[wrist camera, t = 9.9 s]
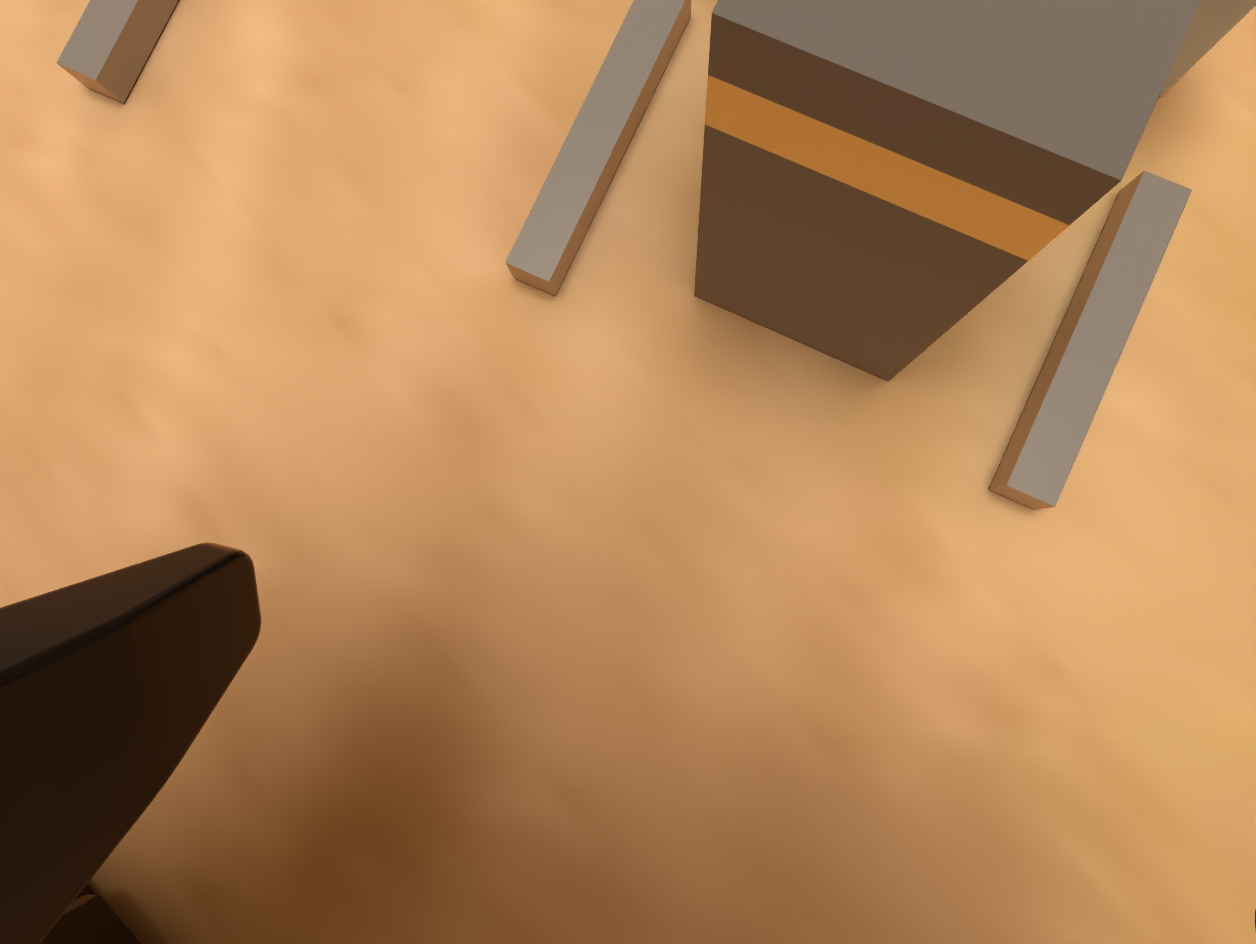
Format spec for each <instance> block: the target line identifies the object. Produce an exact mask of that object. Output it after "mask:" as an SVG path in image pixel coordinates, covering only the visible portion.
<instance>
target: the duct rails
mask: <svg viewBox="0 0 1256 944" xmlns="http://www.w3.org/2000/svg"><path fill="white" fill-rule="evenodd" d="M177 2H178V0H90V2H89V4H88V5H87V7H86V9H85V11H84V13H83V15H82V17H81V18H80V20H79V22H78V24H77V26H76V28H75V30H74V31H73V33H72V35H71V37H70V39H69V41H68V43H67V44H66V46H65V48H64V50H63V52H62V54H61V56H60V58H59V59H58V61H57V64H59V65H60V66H61V67H62V68H63V69H65V70H66V71H67V72H68V73H70V74H71V75H72V76H73V77H75V78H76V79H77V80H78V81H80V82H81V83H82V84H83V85H85V86H86V87H87V88H90V89H92V90H94V91H96V92H99V93H101V94H103V95H105V96H108V97H110V98H112V99H114V100H117V101H119V102H121V103H123V104H124V102H125V100H126V98H127V97H128V95H129V93H130V91H131V89H132V87H133V85H134V83H135V81H136V80H137V78H138V76H139V74H140V72H141V70H142V68H143V66H144V64H145V63H146V61H147V59H148V57H149V55H150V53H151V51H152V49H153V47H154V46H155V44H156V42H157V40H158V38H159V36H160V34H161V32H162V30H163V28H164V27H165V25H166V23H167V21H168V19H169V17H170V15H171V13H172V11H173V10H174V8H175V6H176V4H177ZM1255 6H1256V0H1201V2H1200V4H1199V6H1198V8H1197V11H1196V13H1195V15H1194V17H1193V20H1192V22H1191V24H1190V26H1189V29H1188V31H1187V33H1186V36H1185V38H1184V40H1183V42H1182V45H1181V47H1180V49H1179V51H1178V54H1177V56H1176V58H1175V60H1174V63H1173V65H1172V67H1171V69H1170V72H1169V74H1168V76H1167V78H1166V81H1165V83H1164V85H1163V88H1162V90H1161V92H1160V94H1159V96H1162V95H1163V94H1164V93H1165V92H1166V91H1167V90H1168V89H1169V88H1171V87H1172V86H1173V85H1174V84H1175V83H1176V82H1177V81H1178V80H1179V79H1180V78H1181V77H1182V76H1183V75H1184V74H1185V73H1186V72H1187V71H1188V70H1189V69H1190V68H1191V67H1192V66H1193V65H1194V64H1195V63H1196V62H1197V61H1199V60H1200V59H1201V58H1202V57H1203V56H1204V55H1205V54H1206V53H1207V52H1208V51H1209V50H1210V49H1211V48H1212V47H1213V46H1214V45H1215V44H1216V43H1217V42H1218V41H1219V40H1220V39H1221V38H1222V37H1223V36H1224V35H1225V34H1227V33H1228V32H1229V31H1230V30H1231V29H1232V28H1233V27H1234V26H1235V25H1236V24H1237V23H1238V22H1239V21H1240V20H1241V19H1242V18H1243V17H1244V16H1245V15H1246V14H1247V13H1248V12H1249V11H1250V10H1251V9H1252V8H1253V7H1255ZM690 17H691V0H634V1H633V3H632V5H631V7H630V9H629V11H628V13H627V15H626V17H625V19H624V22H623V24H622V26H621V28H620V30H619V32H618V34H617V36H616V38H615V40H614V42H613V44H612V46H611V48H610V50H609V52H608V54H607V56H606V58H605V60H604V62H603V64H602V67H601V69H600V71H599V73H598V75H597V77H596V79H595V81H594V83H593V85H592V87H591V89H590V91H589V93H588V95H587V97H586V99H585V101H584V103H583V105H582V107H581V109H580V111H579V114H578V116H577V118H576V120H575V122H574V124H573V126H572V128H571V130H570V132H569V134H568V136H567V138H566V140H565V142H564V144H563V146H562V148H561V150H560V152H559V154H558V156H557V159H556V161H555V163H554V165H553V167H552V169H551V171H550V173H549V175H548V177H547V179H546V181H545V183H544V185H543V187H542V189H541V191H540V193H539V195H538V197H537V199H536V201H535V204H534V206H533V208H532V210H531V212H530V214H529V216H528V218H527V220H526V222H525V224H524V226H523V228H522V230H521V232H520V234H519V236H518V238H517V240H516V242H515V244H514V246H513V249H512V251H511V253H510V255H509V257H508V259H507V261H506V264H507V266H508V268H509V269H510V271H511V273H512V275H513V276H514V278H516V279H518V280H520V281H523V282H525V283H527V284H529V285H532V286H534V287H536V288H538V289H540V290H543V291H545V292H547V293H549V294H552V295H554V296H556V294H557V292H558V290H559V288H560V286H561V284H562V282H563V280H564V277H565V275H566V273H567V271H568V269H569V267H570V265H571V263H572V261H573V259H574V257H575V255H576V253H577V251H578V248H579V246H580V244H581V242H582V240H583V238H584V236H585V234H586V232H587V230H588V228H589V226H590V224H591V222H592V220H593V217H594V215H595V213H596V211H597V209H598V207H599V205H600V203H601V201H602V199H603V197H604V195H605V193H606V191H607V188H608V186H609V184H610V182H611V180H612V178H613V176H614V174H615V172H616V170H617V168H618V166H619V164H620V162H621V159H622V157H623V155H624V153H625V151H626V149H627V147H628V145H629V143H630V141H631V139H632V137H633V135H634V133H635V131H636V128H637V126H638V124H639V122H640V120H641V118H642V116H643V114H644V112H645V110H646V108H647V106H648V104H649V102H650V99H651V97H652V95H653V93H654V91H655V89H656V87H657V85H658V83H659V81H660V79H661V77H662V75H663V73H664V71H665V68H666V66H667V64H668V62H669V60H670V58H671V56H672V54H673V52H674V50H675V48H676V46H677V44H678V42H679V39H680V37H681V35H682V33H683V31H684V29H685V27H686V25H687V23H688V21H689V19H690ZM1191 191H1192V190H1191V189H1189V188H1186V187H1184V186H1181V185H1179V184H1176V183H1174V182H1171V181H1169V180H1166V179H1164V178H1161V177H1159V176H1156V175H1154V174H1151V173H1149V172H1146V171H1143V172H1142V173H1141V174H1140V175H1138V176H1137V177H1136V178H1135V179H1134V180H1132V181H1131V182H1130V183H1129V184H1128V185H1126V186H1125V187H1124V188H1123V189H1122V190H1120V192H1119V194H1118V196H1117V199H1116V201H1115V203H1114V205H1113V208H1112V210H1111V212H1110V215H1109V217H1108V219H1107V221H1106V224H1105V226H1104V228H1103V231H1102V233H1101V235H1100V237H1099V240H1098V242H1097V244H1096V246H1095V249H1094V251H1093V253H1092V256H1091V258H1090V260H1089V262H1088V265H1087V267H1086V269H1085V272H1084V274H1083V276H1082V278H1081V281H1080V283H1079V285H1078V288H1077V290H1076V292H1075V294H1074V297H1073V299H1072V301H1071V303H1070V306H1069V308H1068V310H1067V313H1066V315H1065V317H1064V319H1063V322H1062V324H1061V326H1060V329H1059V331H1058V333H1057V335H1056V338H1055V340H1054V342H1053V344H1052V347H1051V349H1050V351H1049V354H1048V356H1047V358H1046V360H1045V363H1044V365H1043V367H1042V370H1041V372H1040V374H1039V376H1038V379H1037V381H1036V383H1035V386H1034V388H1033V390H1032V392H1031V395H1030V397H1029V399H1028V401H1027V404H1026V406H1025V408H1024V411H1023V413H1022V415H1021V417H1020V420H1019V422H1018V424H1017V427H1016V429H1015V431H1014V433H1013V436H1012V438H1011V440H1010V443H1009V445H1008V447H1007V449H1006V452H1005V454H1004V456H1003V458H1002V461H1001V463H1000V465H999V468H998V470H997V472H996V474H995V477H994V479H993V481H992V484H991V486H990V488H989V490H991V491H994V492H996V493H998V494H1000V495H1003V496H1005V497H1007V498H1009V499H1011V500H1014V501H1016V502H1018V503H1020V504H1023V505H1025V506H1027V507H1029V508H1032V509H1034V510H1037V509H1044V508H1050V507H1055V506H1056V503H1057V501H1058V499H1059V496H1060V494H1061V492H1062V489H1063V487H1064V485H1065V482H1066V480H1067V478H1068V476H1069V473H1070V471H1071V469H1072V466H1073V464H1074V462H1075V459H1076V457H1077V455H1078V452H1079V450H1080V448H1081V445H1082V443H1083V441H1084V439H1085V436H1086V434H1087V432H1088V429H1089V427H1090V425H1091V422H1092V420H1093V418H1094V415H1095V413H1096V411H1097V408H1098V406H1099V404H1100V402H1101V399H1102V397H1103V395H1104V392H1105V390H1106V388H1107V385H1108V383H1109V381H1110V378H1111V376H1112V374H1113V371H1114V369H1115V367H1116V365H1117V362H1118V360H1119V358H1120V355H1121V353H1122V351H1123V348H1124V346H1125V344H1126V341H1127V339H1128V337H1129V334H1130V332H1131V330H1132V328H1133V325H1134V323H1135V321H1136V318H1137V316H1138V314H1139V311H1140V309H1141V307H1142V304H1143V302H1144V300H1145V297H1146V295H1147V293H1148V291H1149V288H1150V286H1151V284H1152V281H1153V279H1154V277H1155V274H1156V272H1157V270H1158V267H1159V265H1160V263H1161V260H1162V258H1163V256H1164V254H1165V251H1166V249H1167V247H1168V244H1169V242H1170V240H1171V237H1172V235H1173V233H1174V230H1175V228H1176V226H1177V224H1178V221H1179V219H1180V217H1181V214H1182V212H1183V210H1184V207H1185V205H1186V203H1187V200H1188V198H1189V196H1190V193H1191Z"/></svg>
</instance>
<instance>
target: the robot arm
mask: <svg viewBox="0 0 1256 944" xmlns="http://www.w3.org/2000/svg"><path fill="white" fill-rule="evenodd" d="M260 627H261V614H260V607H259V600H258V592H257V585H256V578H255V571H254V565H253V561H252V560H251V558H250V556H249V555H248V554H247V553H245V552H244V551H242V550H238V549H235V548H231V547H227V546H223V545H219V544H215V543H201V544H198V545H195V546H191V547H188V548H185V549H182V550H179V551H176V552H173V553H170V554H167V555H163V556H160V557H157V558H154V559H151V560H148V561H145V562H142V563H139V564H135V565H132V566H129V567H126V568H123V569H120V570H117V571H114V572H111V573H107V574H104V575H101V576H98V577H95V578H92V579H89V580H86V581H83V582H79V583H76V584H73V585H70V586H67V587H64V588H61V589H58V590H55V591H51V592H48V593H45V594H42V595H39V596H36V597H33V598H30V599H27V600H23V601H20V602H17V603H14V604H11V605H8V606H5V607H2V608H0V944H141V943H140V942H139V941H138V940H137V939H136V938H135V936H134V935H133V934H132V933H131V932H130V930H129V929H128V928H127V927H126V926H125V925H124V923H123V922H122V921H121V920H120V919H119V918H118V916H117V915H116V914H115V913H114V912H113V910H112V909H111V908H110V907H109V906H108V905H107V903H106V902H105V901H104V900H103V899H102V898H101V897H100V896H97V895H96V894H95V893H94V892H93V890H92V889H91V888H90V887H89V886H88V884H87V883H88V882H89V880H90V879H91V878H92V877H93V875H94V874H95V873H96V872H97V870H98V869H99V868H100V866H101V865H102V864H103V863H104V861H105V860H106V859H107V858H108V856H109V855H110V854H111V853H112V851H113V850H114V849H115V847H116V846H117V845H118V844H119V842H120V841H121V840H122V839H123V837H124V836H125V835H126V833H127V832H128V831H129V830H130V828H131V827H132V826H133V825H134V823H135V822H136V821H137V819H138V818H139V817H140V816H141V814H142V813H143V812H144V811H145V809H146V808H147V807H148V806H149V804H150V803H151V802H152V800H153V799H154V798H155V796H156V795H157V794H158V792H159V791H160V790H161V788H162V787H163V786H164V784H165V783H166V782H167V780H168V779H169V777H170V776H171V774H172V773H173V771H174V770H175V768H176V767H177V765H178V764H179V763H180V761H181V760H182V758H183V757H184V755H185V753H186V752H187V750H188V749H189V747H190V746H191V744H192V743H193V741H194V739H195V738H196V736H197V735H198V733H199V732H200V730H201V728H202V727H203V725H204V724H205V722H206V721H207V719H208V718H209V716H210V714H211V713H212V711H213V710H214V708H215V707H216V705H217V703H218V702H219V700H220V699H221V697H222V696H223V694H224V693H225V691H226V689H227V688H228V686H229V685H230V683H231V682H232V680H233V678H234V677H235V675H236V674H237V672H238V671H239V669H240V668H241V666H242V664H243V663H244V661H245V660H246V658H247V657H248V655H249V653H250V652H251V650H252V649H253V647H254V645H255V643H256V641H257V638H258V636H259V632H260ZM1255 929H1256V911H1255Z"/></svg>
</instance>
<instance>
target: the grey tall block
mask: <svg viewBox="0 0 1256 944" xmlns="http://www.w3.org/2000/svg"><path fill="white" fill-rule="evenodd" d="M1200 2H1201V0H718V2H717V4H716V6H715V8H714V10H713V12H712V20H711V36H710V52H709V68H708V84H707V100H706V116H705V132H704V148H703V164H702V180H701V196H700V212H699V228H698V244H697V260H696V276H695V292H694V296H696V297H698V298H700V299H703V300H705V301H707V302H710V303H712V304H714V305H716V306H719V307H721V308H723V309H725V310H728V311H730V312H732V313H734V314H737V315H739V316H741V317H743V318H746V319H748V320H750V321H753V322H755V323H757V324H759V325H762V326H764V327H766V328H768V329H771V330H773V331H775V332H777V333H780V334H782V335H784V336H786V337H789V338H791V339H793V340H796V341H798V342H800V343H802V344H805V345H807V346H809V347H811V348H814V349H816V350H818V351H820V352H823V353H825V354H827V355H829V356H832V357H834V358H836V359H839V360H841V361H843V362H845V363H848V364H850V365H852V366H854V367H857V368H859V369H861V370H863V371H866V372H868V373H870V374H872V375H875V376H877V377H879V378H881V379H884V380H886V381H889V380H891V379H892V378H893V377H894V376H895V375H896V374H898V373H899V372H900V371H901V370H902V369H903V368H904V367H906V366H907V365H908V364H909V363H910V362H911V361H913V360H914V359H915V358H916V357H917V356H918V355H920V354H921V353H922V352H923V351H924V350H925V349H927V348H928V347H929V346H930V345H931V344H932V343H933V342H935V341H936V340H937V339H938V338H939V337H940V336H942V335H943V334H944V333H945V332H946V331H947V330H949V329H950V328H951V327H952V326H953V325H954V324H955V323H957V322H958V321H959V320H960V319H961V318H962V317H964V316H965V315H966V314H967V313H968V312H969V311H971V310H972V309H973V308H974V307H975V306H976V305H978V304H979V303H980V302H981V301H982V300H983V299H984V298H986V297H987V296H988V295H989V294H990V293H991V292H993V291H994V290H995V289H996V288H997V287H998V286H1000V285H1001V284H1002V283H1003V282H1004V281H1005V280H1007V279H1008V278H1009V277H1010V276H1011V275H1012V274H1013V273H1015V272H1016V271H1017V270H1018V269H1019V268H1020V267H1022V266H1023V265H1024V264H1025V263H1026V262H1027V261H1029V260H1030V259H1031V258H1032V257H1033V256H1034V255H1036V254H1037V253H1038V252H1039V251H1040V250H1041V249H1042V248H1044V247H1045V246H1046V245H1047V244H1048V243H1049V242H1051V241H1052V240H1053V239H1054V238H1055V237H1056V236H1058V235H1059V234H1060V233H1061V232H1062V231H1063V230H1064V229H1066V228H1067V227H1068V226H1069V225H1070V224H1071V223H1073V222H1074V221H1075V220H1076V219H1077V218H1078V217H1080V216H1081V215H1082V214H1083V213H1084V212H1085V211H1087V210H1088V209H1089V208H1090V207H1091V206H1092V205H1093V204H1095V203H1096V202H1097V201H1098V200H1099V199H1100V198H1102V197H1103V196H1104V195H1105V194H1106V193H1107V192H1109V191H1110V190H1111V189H1112V188H1113V187H1114V186H1116V185H1117V184H1118V183H1119V182H1120V181H1121V180H1122V178H1123V176H1124V173H1125V171H1126V169H1127V167H1128V164H1129V162H1130V160H1131V158H1132V155H1133V153H1134V151H1135V149H1136V146H1137V144H1138V142H1139V139H1140V137H1141V135H1142V133H1143V130H1144V128H1145V126H1146V124H1147V121H1148V119H1149V117H1150V115H1151V112H1152V110H1153V108H1154V106H1155V103H1156V101H1157V99H1158V97H1159V94H1160V92H1161V90H1162V88H1163V85H1164V83H1165V81H1166V78H1167V76H1168V74H1169V72H1170V69H1171V67H1172V65H1173V63H1174V60H1175V58H1176V56H1177V54H1178V51H1179V49H1180V47H1181V45H1182V42H1183V40H1184V38H1185V36H1186V33H1187V31H1188V29H1189V26H1190V24H1191V22H1192V20H1193V17H1194V15H1195V13H1196V11H1197V8H1198V6H1199V4H1200Z"/></svg>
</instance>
